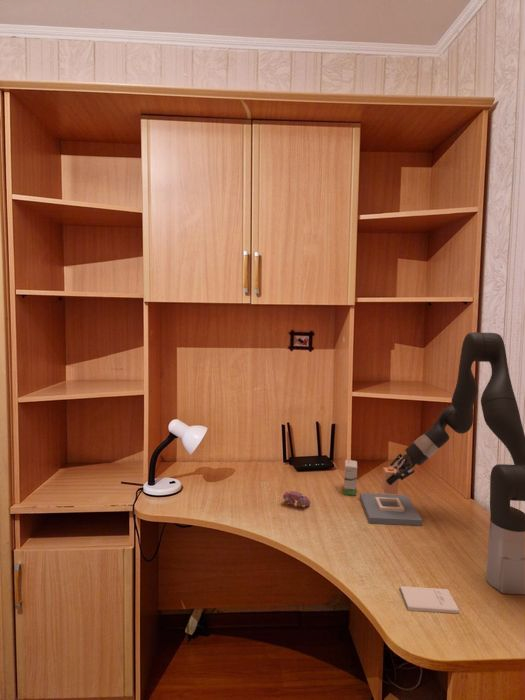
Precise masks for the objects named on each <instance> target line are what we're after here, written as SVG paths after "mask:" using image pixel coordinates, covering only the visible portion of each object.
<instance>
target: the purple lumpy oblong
mask: <svg viewBox="0 0 525 700" xmlns="http://www.w3.org/2000/svg"><path fill="white" fill-rule="evenodd" d="M282 498H283V500H284V501H286V502H287V503H288V504H289V505H291V506H294V505H295V503H296V506H297V507H298V508H302V507H303V506H305V507H310V505H311V499H309V498H308V496H307V495H305V494H304V493H301V492H299V491H295V490H294V491H293V490H291V491H290V490H287V491H286V492H284V494H283V496H282ZM296 501H297V502H296Z"/></svg>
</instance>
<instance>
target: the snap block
mask: <svg viewBox="0 0 525 700" xmlns="http://www.w3.org/2000/svg"><path fill="white" fill-rule="evenodd" d="M396 471H397V469H396V468H393V467H391V466H387V467H383V468H382V485H381V488H382V490H383V492H384V494H392V495H399V494H398V493H399V479H397V480H396V481H395V482H394V483H393V484H392V485H389V484H388V483H387V481H386V480H387V479H388V478H389V477H390V476H392V475H393V474H394V473H395V472H396Z"/></svg>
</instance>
